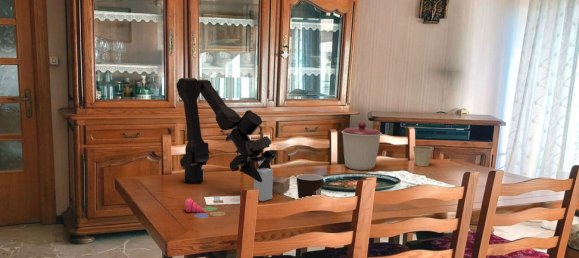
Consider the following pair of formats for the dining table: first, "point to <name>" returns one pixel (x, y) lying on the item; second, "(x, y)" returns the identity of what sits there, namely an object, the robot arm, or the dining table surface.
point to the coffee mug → (309, 185)
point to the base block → (280, 184)
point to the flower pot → (422, 155)
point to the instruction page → (222, 200)
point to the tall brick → (264, 184)
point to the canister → (360, 147)
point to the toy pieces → (200, 209)
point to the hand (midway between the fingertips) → (266, 180)
